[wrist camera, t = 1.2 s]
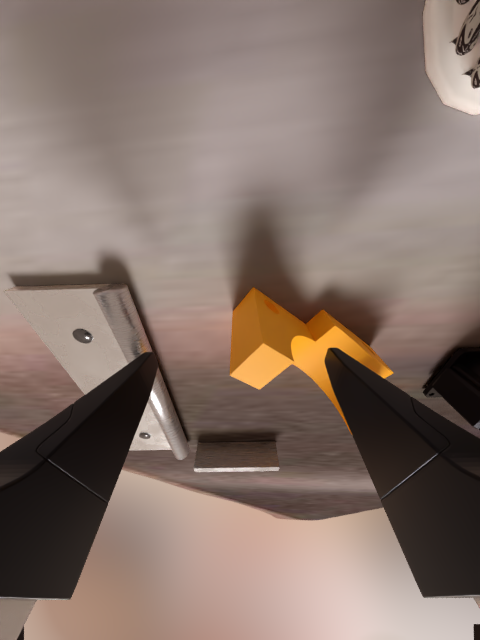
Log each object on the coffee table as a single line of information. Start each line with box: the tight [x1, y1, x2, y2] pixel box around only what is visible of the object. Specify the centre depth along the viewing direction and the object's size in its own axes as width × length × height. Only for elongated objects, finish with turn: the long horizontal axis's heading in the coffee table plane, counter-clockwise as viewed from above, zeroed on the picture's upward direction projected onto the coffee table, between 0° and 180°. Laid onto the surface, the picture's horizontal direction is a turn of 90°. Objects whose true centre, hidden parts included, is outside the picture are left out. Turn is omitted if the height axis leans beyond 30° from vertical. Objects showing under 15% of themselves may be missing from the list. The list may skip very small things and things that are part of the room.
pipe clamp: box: [230, 287, 393, 434], centre depth 13 cm, size 12×4×6 cm, turn 53°
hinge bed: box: [4, 284, 279, 472], centre depth 19 cm, size 20×25×3 cm
